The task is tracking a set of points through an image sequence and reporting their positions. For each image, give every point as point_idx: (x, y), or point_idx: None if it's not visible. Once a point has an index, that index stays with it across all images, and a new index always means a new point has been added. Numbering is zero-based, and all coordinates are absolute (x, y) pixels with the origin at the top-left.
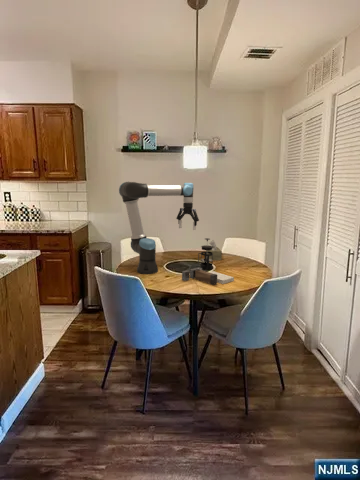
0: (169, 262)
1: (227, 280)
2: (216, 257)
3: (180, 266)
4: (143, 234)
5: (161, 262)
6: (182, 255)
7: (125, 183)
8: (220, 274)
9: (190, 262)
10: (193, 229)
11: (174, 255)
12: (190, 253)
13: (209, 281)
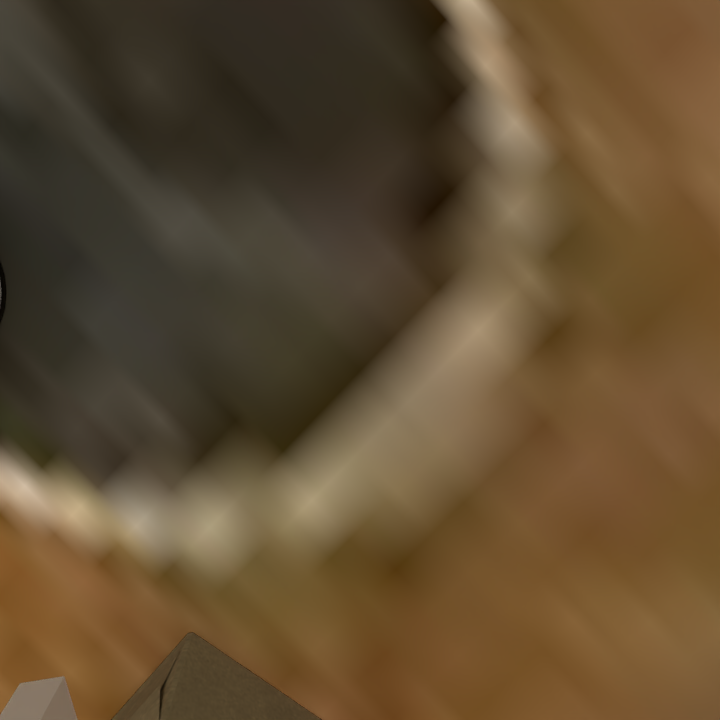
0: (502, 131)
1: None
2: (127, 717)
3: (227, 76)
4: None
5: (590, 38)
6: (632, 563)
7: None
8: None
9: (289, 358)
10: (28, 699)
11: (716, 485)
12: (623, 714)
13: None
